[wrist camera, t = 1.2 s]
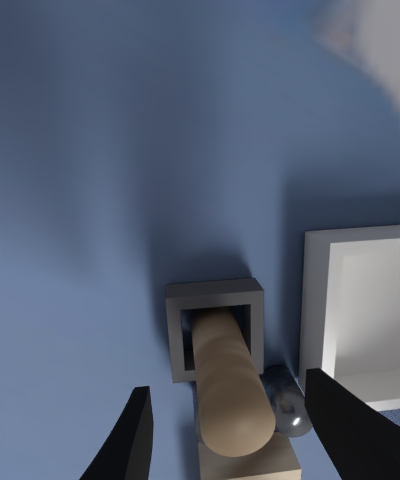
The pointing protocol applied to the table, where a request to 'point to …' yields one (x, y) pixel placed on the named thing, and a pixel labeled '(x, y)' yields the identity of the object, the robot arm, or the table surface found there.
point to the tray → (353, 311)
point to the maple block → (252, 463)
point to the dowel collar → (214, 296)
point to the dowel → (228, 386)
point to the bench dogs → (275, 403)
